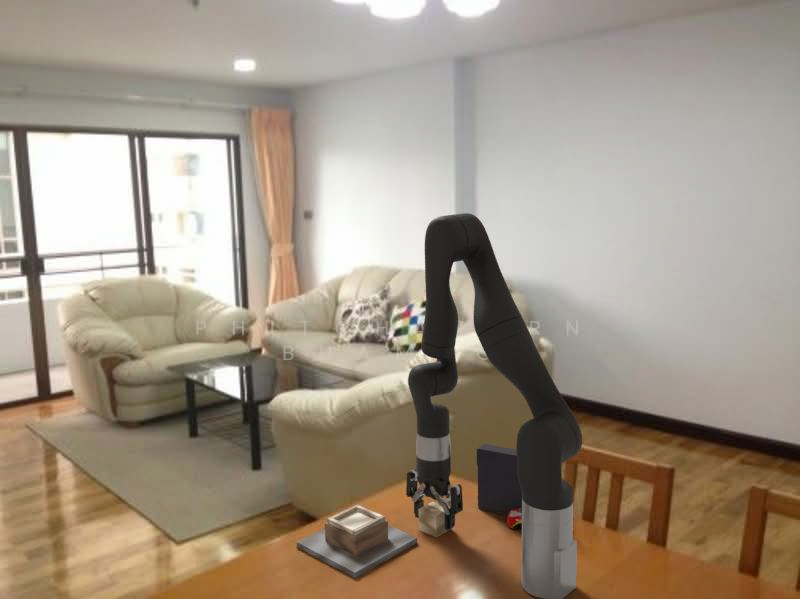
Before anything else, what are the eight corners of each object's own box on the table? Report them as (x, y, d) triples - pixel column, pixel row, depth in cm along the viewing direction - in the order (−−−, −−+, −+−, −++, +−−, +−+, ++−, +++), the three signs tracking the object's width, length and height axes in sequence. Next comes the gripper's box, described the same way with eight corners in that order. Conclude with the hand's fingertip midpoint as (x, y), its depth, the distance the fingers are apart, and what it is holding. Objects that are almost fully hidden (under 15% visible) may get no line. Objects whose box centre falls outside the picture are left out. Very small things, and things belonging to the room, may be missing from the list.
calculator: (527, 512, 160) (528, 450, 158) (521, 519, 157) (521, 456, 154) (484, 502, 166) (483, 442, 164) (476, 509, 162) (476, 448, 160)
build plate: (417, 542, 148) (416, 515, 147) (355, 578, 135) (354, 548, 134) (358, 516, 160) (357, 491, 159) (296, 547, 147) (295, 519, 146)
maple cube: (450, 529, 153) (450, 508, 153) (436, 537, 150) (435, 516, 149) (433, 522, 157) (433, 501, 156) (418, 530, 153) (418, 509, 152)
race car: (567, 524, 155) (568, 507, 154) (568, 536, 150) (568, 518, 149) (508, 519, 158) (508, 502, 157) (506, 530, 153) (506, 513, 152)
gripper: (470, 456, 148) (470, 527, 151) (420, 440, 158) (421, 507, 161) (448, 466, 143) (448, 540, 146) (397, 449, 153) (398, 518, 155)
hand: (434, 522), depth 153 cm, fingers open, 8 cm apart
